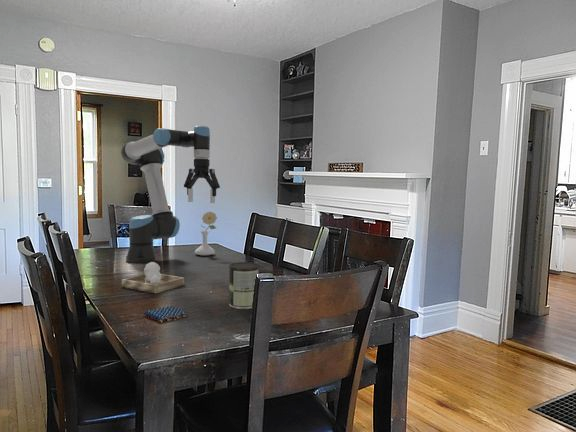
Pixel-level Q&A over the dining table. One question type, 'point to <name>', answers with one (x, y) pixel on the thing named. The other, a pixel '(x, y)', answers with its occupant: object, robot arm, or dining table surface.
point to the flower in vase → (205, 248)
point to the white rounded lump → (152, 273)
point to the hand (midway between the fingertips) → (201, 202)
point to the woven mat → (166, 313)
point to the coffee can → (242, 284)
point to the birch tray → (165, 284)
